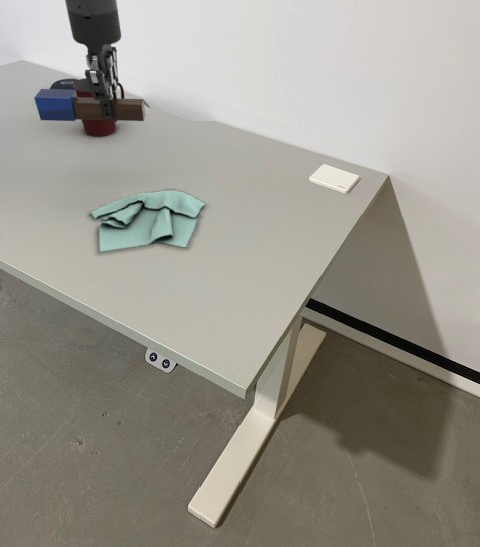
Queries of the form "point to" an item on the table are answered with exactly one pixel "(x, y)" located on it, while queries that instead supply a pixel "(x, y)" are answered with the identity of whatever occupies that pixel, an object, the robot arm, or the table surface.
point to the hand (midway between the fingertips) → (111, 115)
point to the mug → (94, 125)
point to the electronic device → (63, 84)
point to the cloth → (148, 220)
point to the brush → (83, 107)
